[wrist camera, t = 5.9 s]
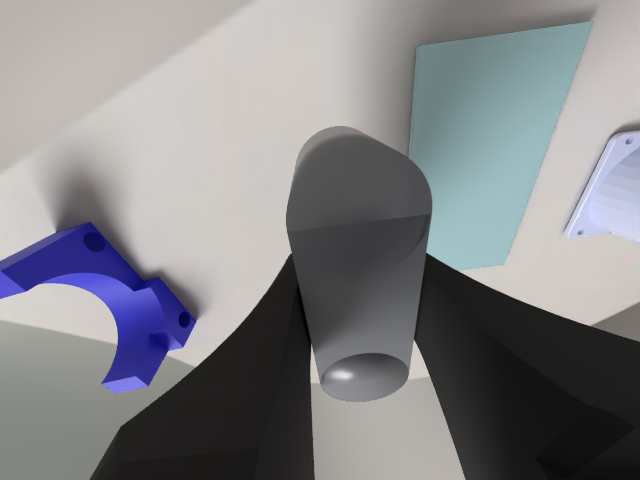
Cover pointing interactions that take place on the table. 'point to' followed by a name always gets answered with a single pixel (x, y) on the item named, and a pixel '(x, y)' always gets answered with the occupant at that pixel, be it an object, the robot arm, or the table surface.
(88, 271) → the cable clip
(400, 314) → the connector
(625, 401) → the robot arm
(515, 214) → the rubber mat
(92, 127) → the table surface
